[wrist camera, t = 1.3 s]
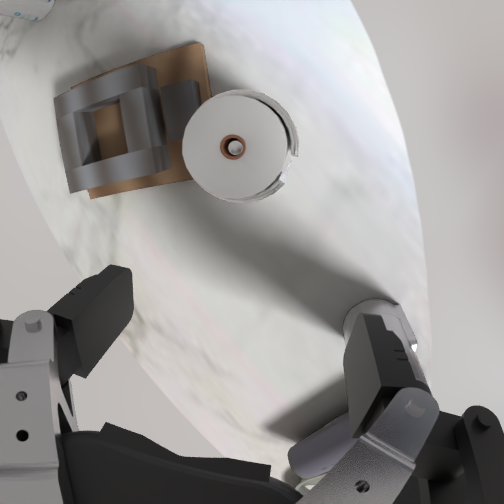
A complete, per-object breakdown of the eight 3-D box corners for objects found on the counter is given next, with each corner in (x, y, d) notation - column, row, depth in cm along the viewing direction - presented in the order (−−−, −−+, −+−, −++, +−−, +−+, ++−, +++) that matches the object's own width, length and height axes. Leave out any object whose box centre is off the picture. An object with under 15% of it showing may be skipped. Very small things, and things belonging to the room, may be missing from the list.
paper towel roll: (266, 170, 41) (223, 230, 18) (237, 130, 39) (154, 137, 16) (308, 142, 39) (323, 164, 16) (278, 101, 37) (249, 62, 14)
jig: (203, 45, 35) (187, 32, 29) (223, 173, 42) (211, 181, 36) (76, 87, 39) (49, 86, 33) (95, 196, 45) (71, 207, 39)
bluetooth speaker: (317, 449, 61) (316, 485, 52) (287, 434, 60) (283, 472, 51) (400, 400, 53) (410, 439, 44) (373, 380, 51) (381, 422, 42)
